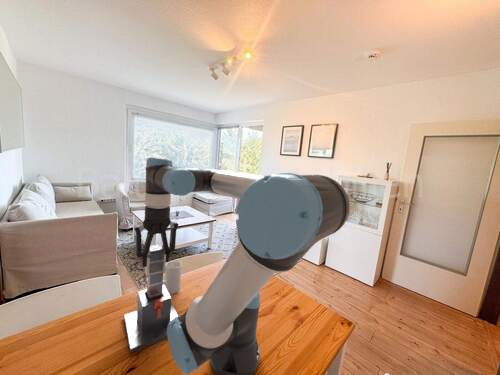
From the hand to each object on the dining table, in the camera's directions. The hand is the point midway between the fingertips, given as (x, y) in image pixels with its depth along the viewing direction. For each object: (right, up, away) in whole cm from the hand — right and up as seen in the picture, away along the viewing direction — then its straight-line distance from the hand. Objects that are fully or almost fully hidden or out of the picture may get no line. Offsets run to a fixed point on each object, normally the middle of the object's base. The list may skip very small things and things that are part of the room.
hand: (155, 272), depth 71 cm
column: (-1, -13, +2) cm, 13 cm away
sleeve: (-2, -19, +3) cm, 20 cm away
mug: (-4, -17, +22) cm, 28 cm away
